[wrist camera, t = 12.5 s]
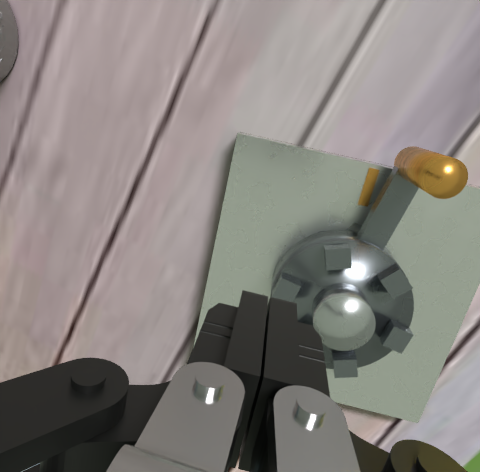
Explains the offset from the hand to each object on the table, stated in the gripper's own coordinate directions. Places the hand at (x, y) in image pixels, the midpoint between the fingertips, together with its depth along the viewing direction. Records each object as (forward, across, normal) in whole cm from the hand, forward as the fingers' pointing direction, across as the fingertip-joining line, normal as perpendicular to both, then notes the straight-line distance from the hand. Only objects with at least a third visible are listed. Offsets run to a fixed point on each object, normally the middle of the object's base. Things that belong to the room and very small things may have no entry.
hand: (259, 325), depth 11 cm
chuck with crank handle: (+23, -8, +4) cm, 24 cm away
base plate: (+25, -7, +8) cm, 27 cm away
